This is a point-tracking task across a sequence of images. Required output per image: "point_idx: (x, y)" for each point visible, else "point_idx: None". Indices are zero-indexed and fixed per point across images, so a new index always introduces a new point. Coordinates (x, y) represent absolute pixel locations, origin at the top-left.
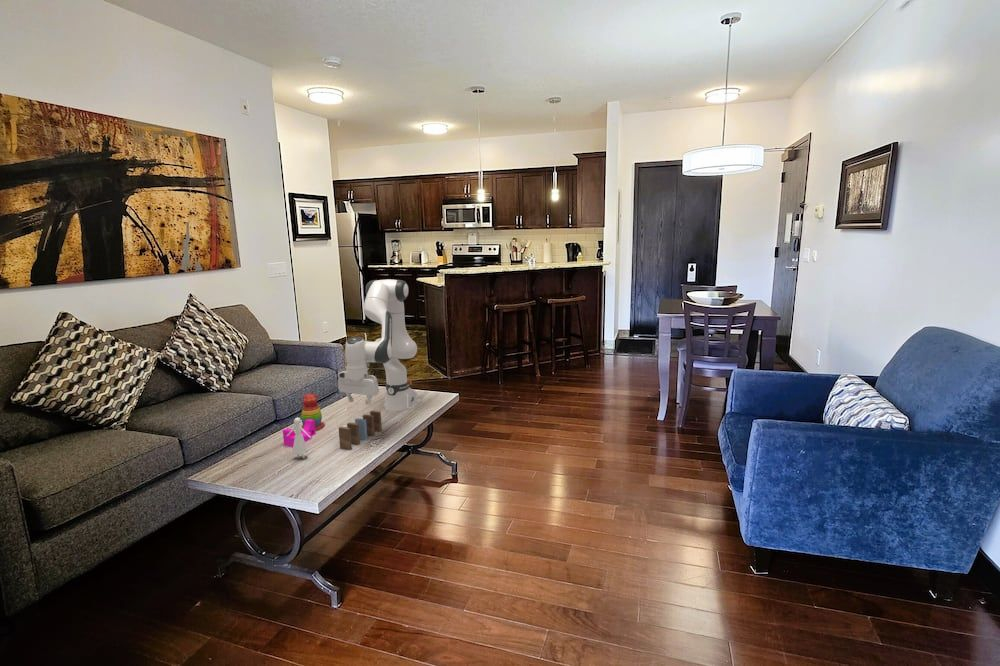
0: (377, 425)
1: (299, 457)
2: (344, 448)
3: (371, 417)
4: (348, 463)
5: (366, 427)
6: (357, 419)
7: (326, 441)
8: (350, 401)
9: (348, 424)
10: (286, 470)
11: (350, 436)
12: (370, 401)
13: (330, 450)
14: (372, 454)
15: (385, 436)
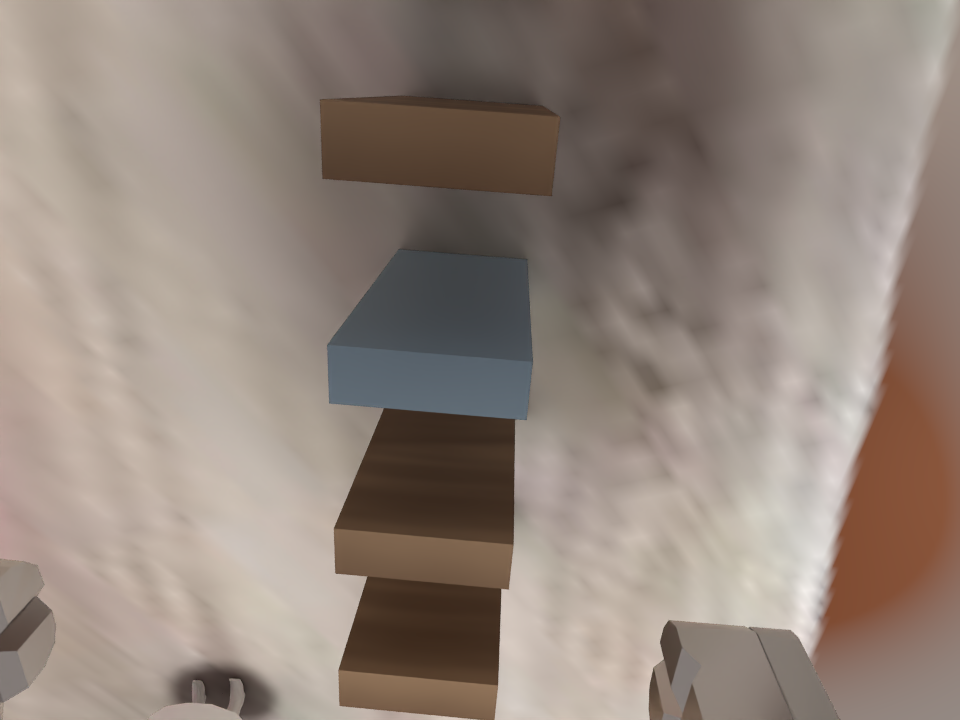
0: None
1: (204, 693)
2: None
3: (550, 195)
4: (635, 691)
5: (529, 314)
6: (374, 395)
7: (125, 399)
8: (4, 666)
9: (367, 569)
10: None
11: (500, 598)
12: (820, 688)
13: (327, 548)
14: (759, 535)
15: (696, 80)
